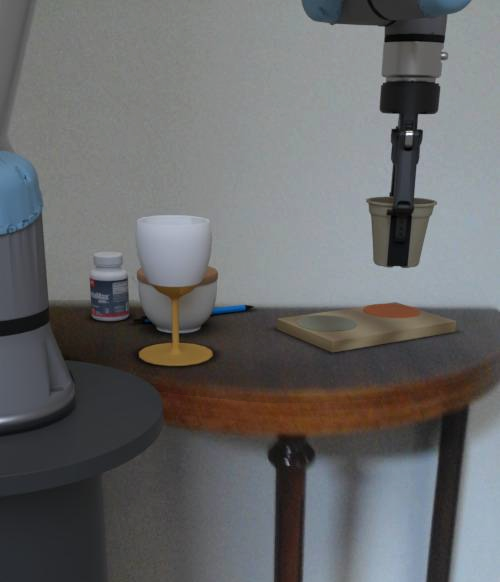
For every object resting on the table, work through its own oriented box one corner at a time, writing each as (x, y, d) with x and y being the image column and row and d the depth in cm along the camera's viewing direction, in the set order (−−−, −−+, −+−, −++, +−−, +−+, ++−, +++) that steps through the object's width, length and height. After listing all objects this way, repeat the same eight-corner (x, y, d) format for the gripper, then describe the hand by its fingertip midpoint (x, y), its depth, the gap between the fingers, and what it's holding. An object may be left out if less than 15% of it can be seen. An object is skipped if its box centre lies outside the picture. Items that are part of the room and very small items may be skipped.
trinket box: (126, 334, 109) (123, 262, 106) (156, 315, 119) (154, 248, 115) (203, 341, 107) (202, 268, 103) (227, 321, 116) (228, 253, 113)
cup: (123, 359, 99) (117, 221, 93) (164, 341, 107) (161, 212, 100) (189, 370, 96) (187, 228, 89) (226, 351, 103) (227, 218, 97)
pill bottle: (83, 317, 117) (80, 253, 114) (112, 310, 121) (109, 249, 117) (108, 324, 114) (105, 258, 111) (137, 317, 118) (134, 254, 114)
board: (332, 352, 103) (332, 340, 103) (276, 329, 113) (276, 317, 112) (455, 331, 113) (456, 320, 113) (394, 311, 123) (395, 301, 123)
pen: (131, 318, 115) (134, 315, 114) (252, 305, 123) (255, 301, 122) (133, 324, 115) (135, 321, 114) (253, 310, 123) (257, 307, 122)
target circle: (388, 320, 112) (388, 319, 112) (351, 308, 119) (351, 307, 119) (432, 313, 116) (432, 313, 116) (394, 302, 123) (394, 301, 123)
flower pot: (375, 255, 121) (379, 194, 117) (438, 262, 117) (445, 199, 113) (351, 266, 113) (356, 201, 110) (419, 274, 109) (425, 206, 106)
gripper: (448, 79, 96) (428, 276, 105) (434, 82, 115) (419, 247, 124) (382, 78, 97) (368, 273, 105) (380, 81, 116) (368, 245, 125)
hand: (396, 259), depth 115 cm, fingers closed on flower pot, 8 cm apart
